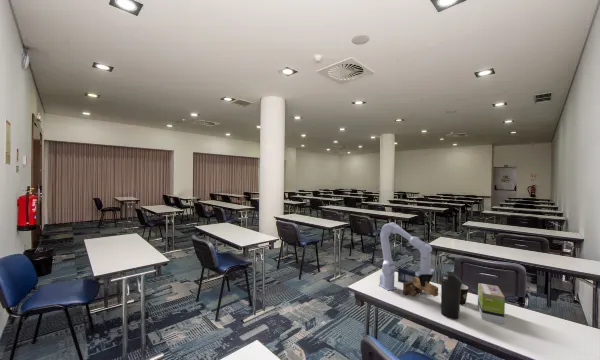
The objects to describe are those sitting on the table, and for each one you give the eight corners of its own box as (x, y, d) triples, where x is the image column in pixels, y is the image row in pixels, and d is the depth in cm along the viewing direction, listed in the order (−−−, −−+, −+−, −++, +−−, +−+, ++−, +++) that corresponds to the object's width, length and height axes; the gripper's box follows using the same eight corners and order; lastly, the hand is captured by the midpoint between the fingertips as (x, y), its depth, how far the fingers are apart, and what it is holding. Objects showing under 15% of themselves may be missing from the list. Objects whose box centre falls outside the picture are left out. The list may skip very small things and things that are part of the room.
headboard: (403, 293, 169) (403, 283, 168) (419, 289, 175) (419, 279, 175) (409, 297, 164) (409, 286, 164) (425, 292, 171) (426, 282, 170)
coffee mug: (463, 299, 163) (463, 283, 162) (470, 306, 154) (471, 289, 154) (443, 298, 164) (444, 282, 163) (450, 305, 155) (450, 288, 155)
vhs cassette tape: (397, 281, 188) (398, 267, 188) (399, 280, 190) (399, 266, 190) (423, 290, 175) (424, 275, 174) (425, 288, 177) (425, 274, 176)
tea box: (476, 306, 154) (477, 282, 153) (497, 311, 149) (498, 285, 149) (481, 319, 140) (482, 292, 140) (504, 324, 136) (505, 296, 135)
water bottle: (459, 312, 146) (460, 272, 146) (461, 322, 137) (463, 279, 137) (438, 308, 151) (440, 269, 150) (440, 317, 141) (441, 275, 141)
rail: (412, 284, 168) (412, 277, 168) (415, 283, 170) (416, 276, 169) (434, 296, 154) (434, 288, 153) (437, 295, 155) (438, 287, 155)
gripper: (422, 267, 155) (421, 290, 155) (439, 264, 161) (438, 286, 161) (412, 263, 161) (412, 285, 161) (429, 261, 167) (428, 281, 167)
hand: (424, 285), depth 162 cm, fingers closed on rail, 3 cm apart
